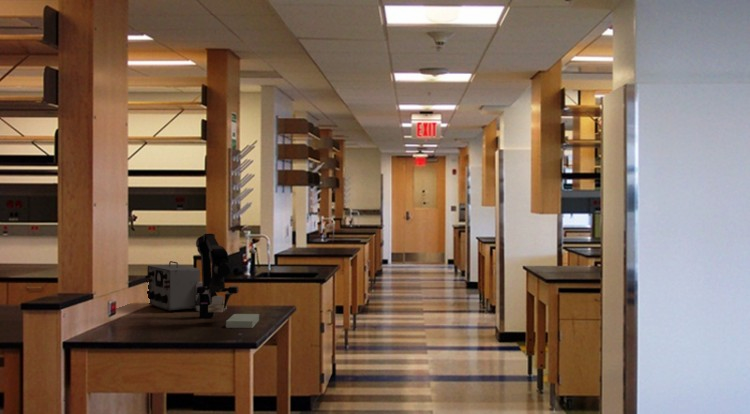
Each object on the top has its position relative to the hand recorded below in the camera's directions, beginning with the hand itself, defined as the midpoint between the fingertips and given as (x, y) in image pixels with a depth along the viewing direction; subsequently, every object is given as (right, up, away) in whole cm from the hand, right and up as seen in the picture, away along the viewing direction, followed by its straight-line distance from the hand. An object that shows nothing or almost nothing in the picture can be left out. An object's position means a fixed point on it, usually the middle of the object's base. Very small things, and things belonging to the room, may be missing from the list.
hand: (217, 308), depth 350 cm
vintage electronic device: (-35, -7, +48) cm, 60 cm away
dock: (+12, -7, 0) cm, 14 cm away
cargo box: (0, +2, 0) cm, 2 cm away
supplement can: (-16, -7, +41) cm, 44 cm away
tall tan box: (0, -1, 0) cm, 1 cm away
